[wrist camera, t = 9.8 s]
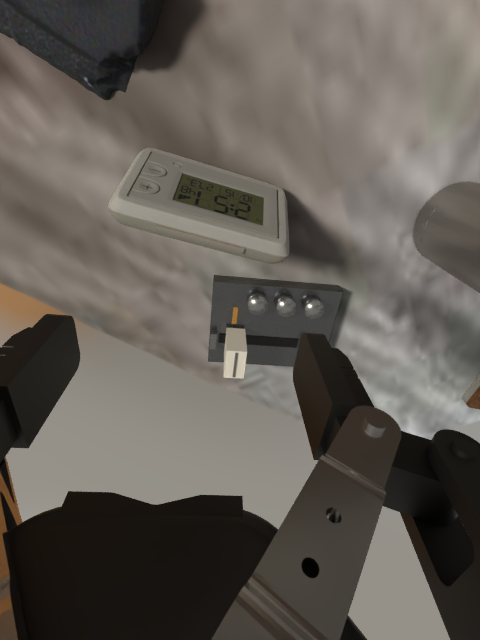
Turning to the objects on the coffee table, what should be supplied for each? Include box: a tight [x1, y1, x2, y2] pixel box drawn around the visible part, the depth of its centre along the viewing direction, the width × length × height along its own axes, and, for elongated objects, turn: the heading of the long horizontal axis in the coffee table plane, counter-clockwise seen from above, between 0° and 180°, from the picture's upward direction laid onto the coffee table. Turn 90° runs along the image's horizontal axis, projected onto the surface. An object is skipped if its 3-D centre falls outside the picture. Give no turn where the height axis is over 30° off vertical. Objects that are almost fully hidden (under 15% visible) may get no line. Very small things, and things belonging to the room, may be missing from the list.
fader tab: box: [224, 328, 247, 378], centre depth 40 cm, size 2×4×5 cm, turn 174°
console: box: [208, 275, 343, 367], centre depth 42 cm, size 16×12×4 cm
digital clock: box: [109, 148, 289, 264], centre depth 31 cm, size 16×9×11 cm, turn 63°
